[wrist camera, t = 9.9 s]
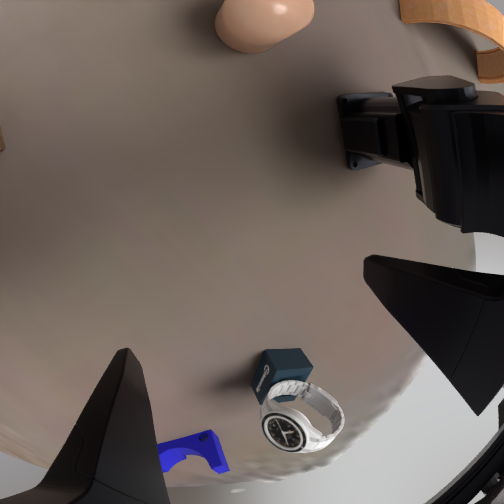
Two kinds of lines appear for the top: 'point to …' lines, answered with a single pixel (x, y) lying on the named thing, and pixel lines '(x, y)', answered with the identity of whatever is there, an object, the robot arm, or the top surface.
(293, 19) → the terracotta cylinder
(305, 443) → the watch
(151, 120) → the top surface
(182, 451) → the cable clip
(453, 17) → the arch
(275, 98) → the top surface
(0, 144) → the walnut cube
